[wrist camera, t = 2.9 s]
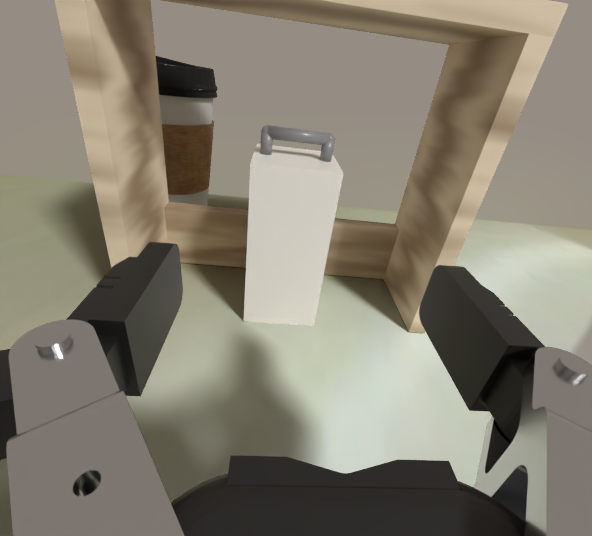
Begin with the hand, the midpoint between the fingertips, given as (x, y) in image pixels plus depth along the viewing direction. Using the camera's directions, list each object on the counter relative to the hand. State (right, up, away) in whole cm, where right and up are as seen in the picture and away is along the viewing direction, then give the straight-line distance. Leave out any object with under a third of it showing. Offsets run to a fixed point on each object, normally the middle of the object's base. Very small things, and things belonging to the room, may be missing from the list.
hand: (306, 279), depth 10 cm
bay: (-2, -1, +16) cm, 16 cm away
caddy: (-2, -2, +15) cm, 15 cm away
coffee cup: (-13, +6, +26) cm, 30 cm away
